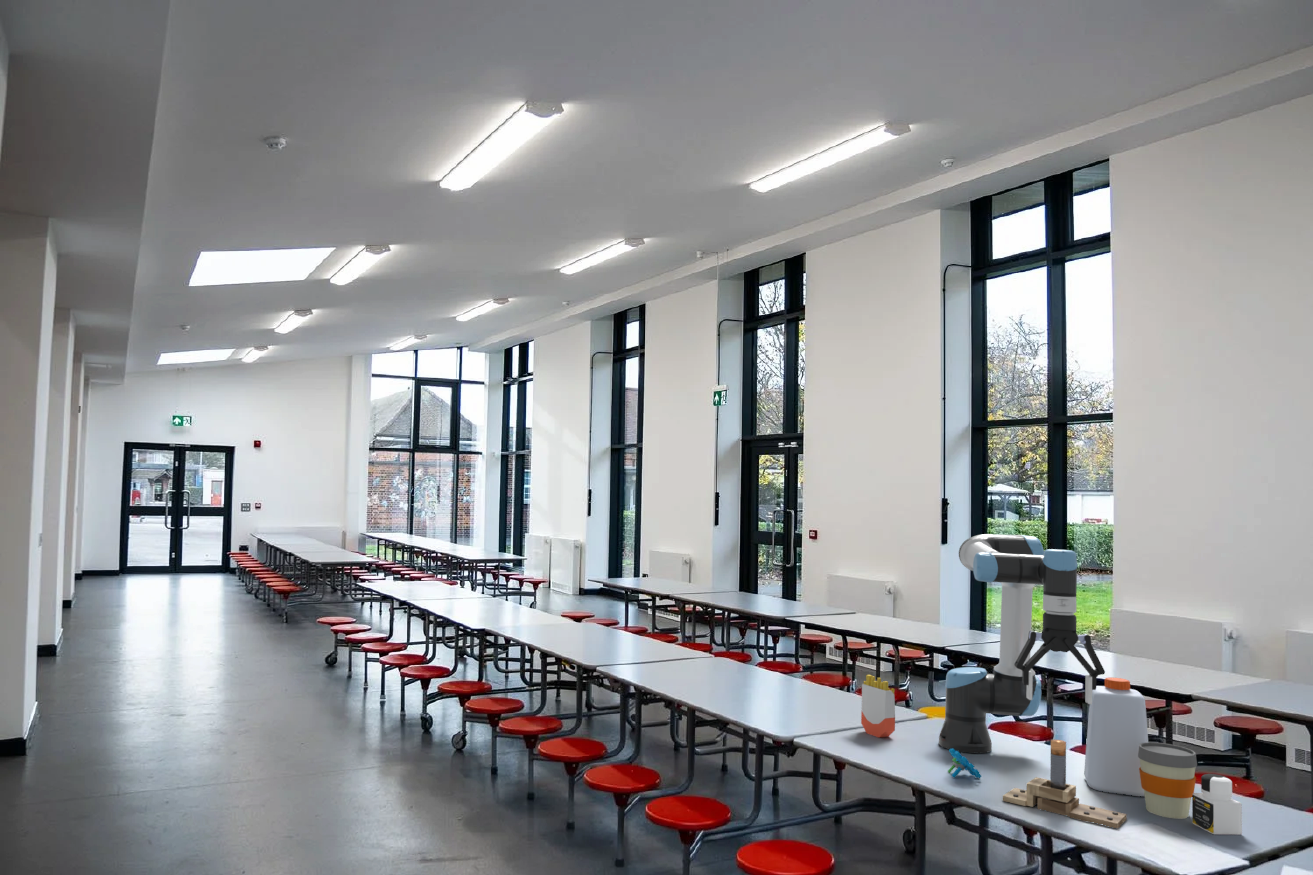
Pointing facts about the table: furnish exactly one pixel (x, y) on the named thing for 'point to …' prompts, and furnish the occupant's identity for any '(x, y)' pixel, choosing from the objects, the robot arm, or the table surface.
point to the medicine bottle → (1216, 807)
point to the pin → (1058, 765)
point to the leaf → (1039, 793)
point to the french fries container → (877, 707)
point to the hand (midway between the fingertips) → (1058, 701)
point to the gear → (962, 765)
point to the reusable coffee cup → (1167, 778)
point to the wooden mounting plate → (1083, 812)
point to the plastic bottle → (1115, 738)
